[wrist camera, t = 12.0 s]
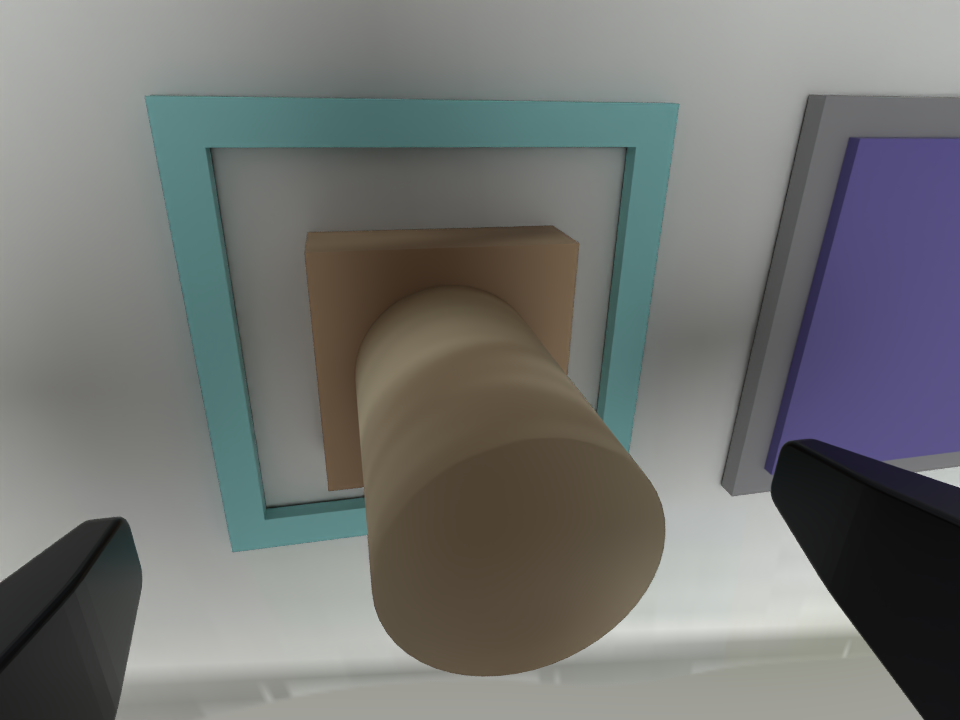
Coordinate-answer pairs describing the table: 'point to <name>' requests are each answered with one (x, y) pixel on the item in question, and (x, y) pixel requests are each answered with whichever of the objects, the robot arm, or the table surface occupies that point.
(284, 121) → the teal flat square frame
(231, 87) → the table surface
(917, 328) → the ink pad
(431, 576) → the stamp
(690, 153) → the table surface
